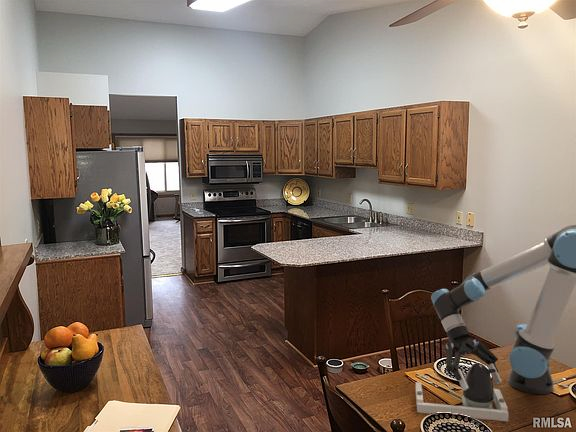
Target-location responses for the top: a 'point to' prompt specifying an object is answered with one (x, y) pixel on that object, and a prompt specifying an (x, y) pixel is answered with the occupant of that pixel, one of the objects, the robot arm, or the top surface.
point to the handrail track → (465, 407)
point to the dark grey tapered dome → (479, 386)
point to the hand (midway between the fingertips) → (482, 386)
